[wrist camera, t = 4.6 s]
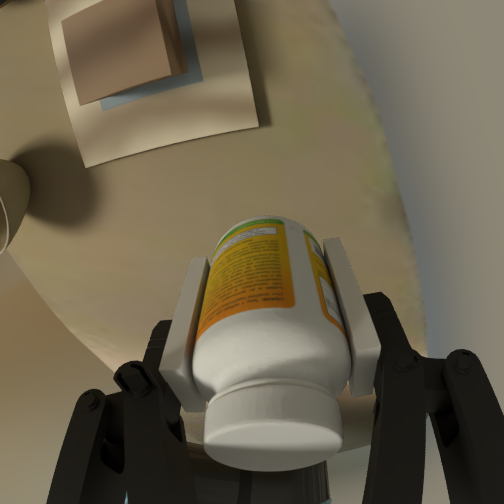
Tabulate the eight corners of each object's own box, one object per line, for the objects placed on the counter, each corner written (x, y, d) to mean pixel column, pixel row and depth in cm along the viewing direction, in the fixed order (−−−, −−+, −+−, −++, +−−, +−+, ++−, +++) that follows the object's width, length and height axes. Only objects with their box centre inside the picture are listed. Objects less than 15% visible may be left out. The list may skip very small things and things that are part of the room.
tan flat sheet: (258, 124, 25) (258, 126, 24) (90, 164, 27) (85, 168, 26) (218, -66, 15) (217, -71, 14) (50, -2, 17) (44, -3, 16)
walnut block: (188, 72, 21) (171, 74, 17) (109, 97, 22) (79, 106, 18) (171, -5, 18) (151, -19, 14) (93, 24, 19) (61, 21, 14)
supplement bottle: (199, 283, 17) (160, 460, 8) (238, 194, 14) (209, 385, 6) (290, 314, 18) (305, 483, 9) (341, 238, 15) (408, 420, 7)
